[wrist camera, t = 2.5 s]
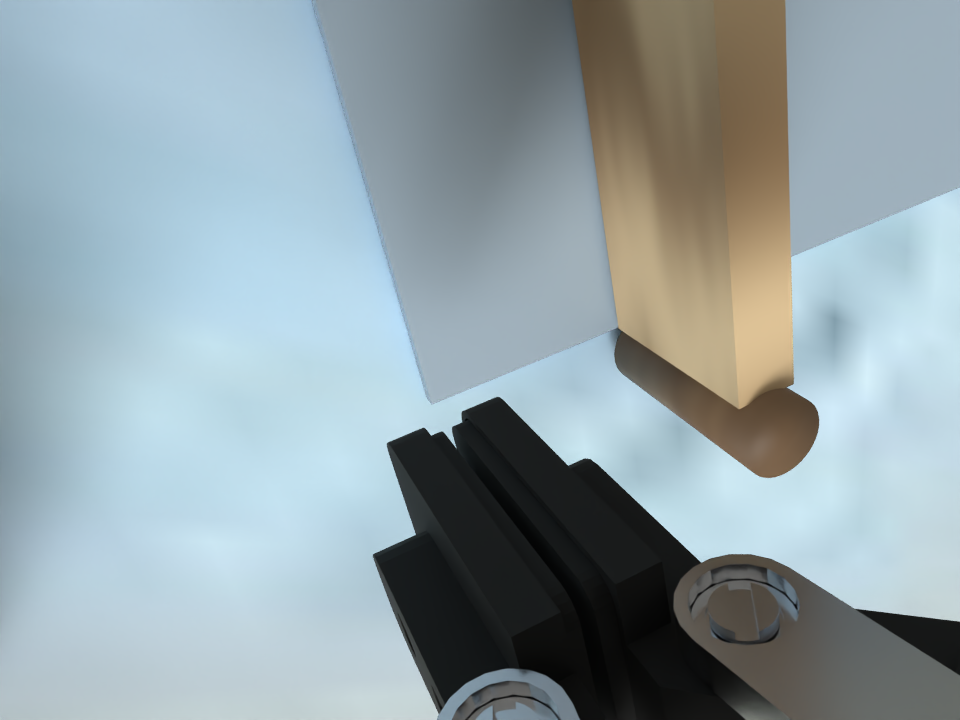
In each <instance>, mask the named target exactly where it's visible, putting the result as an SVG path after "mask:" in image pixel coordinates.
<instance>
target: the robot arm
mask: <svg viewBox="0 0 960 720" xmlns="http://www.w3.org/2000/svg"><path fill="white" fill-rule="evenodd" d="M462 422H463V423H460V424H458V425H456V426H453V427H452V432H453V437H454V440H455V444H456V447H457V449H456V448H455V446H454V445H453V444H452V442H451V441H450V440H449V439H448V437H447V436H446V435H445V434H444V433H443V432H439V433H437V434H434V435H432V436H431V435H430V434H429V432H428V431H427V430H426V429H425V428H422V429H419V430H417V431H414V432H412V433H410V434H407V435H405V436H402V437H400V438H398V439H395V440H393V441H390V442H388V443H387V448H388V452H389V455H390V458H391V461H392V464H393V467H394V470H395V473H396V476H397V479H398V482H399V485H400V488H401V491H402V494H403V497H404V500H405V503H406V506H407V509H408V512H409V515H410V518H411V521H412V524H413V527H414V530H415V533H416V535H415V536H413V537H410V538H408V539H406V540H404V541H402V542H399V543H397V544H395V545H393V546H391V547H388V548H386V549H384V550H382V551H380V552H377V553H375V554H373V558H374V561H375V564H376V567H377V569H378V572H379V575H380V578H381V580H382V583H383V586H384V588H385V591H386V594H387V596H388V599H389V601H390V604H391V607H392V609H393V612H394V614H395V617H396V619H397V621H398V624H399V626H400V629H401V631H402V633H403V636H404V638H405V640H406V643H407V645H408V647H409V650H410V652H411V654H412V656H413V659H414V661H415V663H416V665H417V667H418V669H419V672H420V674H421V676H422V678H423V680H424V682H425V685H426V687H427V689H428V691H429V693H430V696H431V698H432V700H433V702H434V704H435V706H436V709H437V711H438V713H439V715H438V718H437V720H960V622H957V621H949V620H941V619H933V618H925V617H917V616H908V615H900V614H892V613H884V612H876V611H868V610H860V609H854V608H852V607H851V606H849V605H848V604H846V603H844V602H843V601H841V600H840V599H838V598H836V597H835V596H833V595H832V594H830V593H829V592H827V591H825V590H824V589H822V588H821V587H819V586H817V585H816V584H814V583H813V582H811V581H810V580H808V579H806V578H805V577H803V576H802V575H800V574H799V573H797V572H795V571H794V570H792V569H791V568H789V567H787V566H785V565H783V564H780V563H778V562H776V561H774V560H772V559H769V558H764V557H760V556H755V555H751V554H729V555H724V556H720V557H715V558H711V559H708V560H706V561H704V562H702V563H701V562H700V561H699V560H698V559H697V558H696V557H695V556H693V555H692V554H691V553H690V552H689V551H688V550H687V549H686V548H685V547H684V546H683V545H682V544H681V543H680V542H679V541H678V540H677V539H676V538H674V537H673V536H672V535H671V534H670V533H669V532H668V531H667V530H666V529H665V528H664V527H663V526H662V525H661V524H660V523H659V522H658V521H657V520H655V519H654V518H653V517H652V516H651V515H650V514H649V513H648V512H647V511H646V510H645V509H644V508H643V507H642V506H641V505H640V504H639V503H638V502H637V501H635V500H634V499H633V498H632V497H631V496H630V495H629V494H628V493H627V492H626V491H625V490H624V489H623V488H622V487H621V486H620V485H619V484H618V483H616V482H615V481H614V480H613V479H612V478H611V477H610V476H609V475H608V474H607V473H606V472H605V471H604V470H603V469H602V468H601V467H600V466H599V465H597V464H596V463H595V462H593V461H592V460H591V459H583V460H580V461H578V462H576V463H574V464H572V465H569V466H568V465H567V464H566V463H565V462H564V461H563V460H562V459H561V458H560V457H559V456H558V455H557V454H556V453H555V452H554V451H553V450H552V449H551V448H550V447H549V446H548V445H547V444H546V443H545V442H544V441H543V440H542V439H541V438H540V437H539V436H538V435H537V434H536V433H535V432H534V431H533V430H532V429H531V428H530V427H529V426H528V425H527V424H526V423H525V422H524V421H523V420H522V419H521V418H520V417H519V416H518V415H517V414H516V413H515V412H514V411H513V410H512V409H511V408H510V407H509V406H508V404H507V403H506V402H505V401H504V400H503V399H501V398H500V397H496V398H493V399H491V400H488V401H486V402H484V403H481V404H479V405H477V406H474V407H472V408H469V409H467V410H465V411H462Z"/></svg>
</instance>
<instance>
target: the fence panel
mask: <svg viewBox="0 0 960 720" xmlns="http://www.w3.org/2000/svg"><path fill="white" fill-rule="evenodd" d="M572 5H573V12H574V19H575V26H576V33H577V40H578V47H579V54H580V61H581V68H582V75H583V82H584V89H585V97H586V104H587V111H588V118H589V125H590V132H591V139H592V146H593V153H594V160H595V167H596V174H597V181H598V188H599V195H600V202H601V209H602V216H603V223H604V230H605V237H606V244H607V251H608V258H609V265H610V272H611V279H612V286H613V293H614V300H615V307H616V314H617V321H618V328H619V329H620V330H621V331H622V332H621V334H620V336H619V338H618V340H617V343H616V346H615V354H614V356H615V363H616V365H617V368H618V369H619V371H620V372H621V373H622V374H623V375H624V376H626V377H627V378H628V379H630V380H631V381H632V382H634V383H635V384H636V385H638V386H639V387H640V388H642V389H643V390H644V391H646V392H647V393H648V394H650V395H651V396H652V397H654V398H655V399H656V400H658V401H659V402H660V403H662V404H663V405H664V406H666V407H667V408H668V409H670V410H671V411H672V412H674V413H675V414H676V415H678V416H679V417H680V418H682V419H683V420H684V421H686V422H687V423H688V424H690V425H691V426H692V427H694V428H695V429H696V430H698V431H699V432H700V433H702V434H703V435H704V436H706V437H707V438H708V439H710V440H711V441H712V442H713V443H715V444H716V445H717V446H719V447H720V448H721V449H723V450H724V451H725V452H727V453H728V454H729V455H731V456H732V457H733V458H735V459H736V460H737V461H739V462H740V463H741V464H743V465H744V466H745V467H747V468H748V469H749V470H751V471H752V472H753V473H755V474H756V475H758V476H760V477H765V478H772V477H777V476H780V475H782V474H785V473H786V472H788V471H790V470H791V469H793V468H794V467H795V466H796V465H798V464H799V463H800V462H801V461H802V460H803V458H804V457H805V456H806V455H807V453H808V452H809V451H810V449H811V447H812V445H813V443H814V441H815V439H816V436H817V433H818V428H819V416H818V412H817V409H816V408H815V406H814V405H813V404H812V403H811V402H810V401H808V400H807V399H805V398H803V397H802V396H800V395H798V394H797V393H795V392H793V391H792V390H790V389H788V388H786V387H788V386H791V385H793V384H794V374H793V328H792V282H791V237H790V191H789V145H788V99H787V53H786V8H785V0H572Z"/></svg>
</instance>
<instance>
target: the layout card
mask: <svg viewBox="0 0 960 720" xmlns="http://www.w3.org/2000/svg"><path fill="white" fill-rule="evenodd" d="M312 4H313V7H314V10H315V14H316V17H317V21H318V24H319V28H320V31H321V35H322V38H323V42H324V45H325V48H326V52H327V55H328V59H329V62H330V66H331V69H332V73H333V76H334V79H335V83H336V86H337V90H338V93H339V97H340V100H341V104H342V107H343V111H344V114H345V117H346V121H347V124H348V128H349V131H350V135H351V138H352V142H353V145H354V148H355V152H356V155H357V159H358V162H359V166H360V169H361V173H362V176H363V180H364V183H365V186H366V190H367V193H368V197H369V200H370V204H371V207H372V211H373V214H374V217H375V221H376V224H377V228H378V231H379V235H380V238H381V242H382V245H383V249H384V252H385V255H386V259H387V262H388V266H389V269H390V273H391V276H392V280H393V283H394V286H395V290H396V293H397V297H398V300H399V304H400V307H401V311H402V314H403V317H404V321H405V324H406V328H407V331H408V335H409V338H410V342H411V345H412V349H413V352H414V355H415V359H416V362H417V366H418V369H419V373H420V376H421V380H422V383H423V386H424V390H425V393H426V397H427V399H428V400H429V402H430V403H431V404H434V403H437V402H439V401H441V400H444V399H446V398H449V397H451V396H454V395H456V394H458V393H461V392H463V391H466V390H468V389H471V388H473V387H475V386H478V385H480V384H483V383H485V382H488V381H490V380H492V379H495V378H497V377H500V376H502V375H505V374H507V373H509V372H512V371H514V370H517V369H519V368H522V367H524V366H526V365H529V364H531V363H534V362H536V361H539V360H541V359H544V358H546V357H548V356H551V355H553V354H556V353H558V352H561V351H563V350H565V349H568V348H570V347H573V346H575V345H578V344H580V343H582V342H585V341H587V340H590V339H592V338H595V337H597V336H599V335H602V334H604V333H607V332H609V331H612V330H614V329H616V328H618V321H617V314H616V307H615V300H614V293H613V286H612V279H611V272H610V265H609V258H608V251H607V244H606V237H605V230H604V223H603V216H602V209H601V202H600V195H599V188H598V181H597V174H596V167H595V160H594V153H593V146H592V139H591V132H590V125H589V118H588V111H587V104H586V97H585V89H584V82H583V75H582V68H581V61H580V54H579V47H578V40H577V33H576V26H575V19H574V12H573V5H572V0H312ZM785 8H786V53H787V99H788V145H789V191H790V237H791V257H792V256H794V255H796V254H799V253H801V252H804V251H806V250H809V249H811V248H813V247H816V246H818V245H821V244H823V243H826V242H828V241H830V240H833V239H835V238H838V237H840V236H843V235H845V234H848V233H850V232H852V231H855V230H857V229H860V228H862V227H865V226H867V225H869V224H872V223H874V222H877V221H879V220H882V219H884V218H886V217H889V216H891V215H894V214H896V213H899V212H901V211H903V210H906V209H908V208H911V207H913V206H916V205H918V204H920V203H923V202H925V201H928V200H930V199H933V198H935V197H937V196H940V195H942V194H945V193H947V192H950V191H952V190H955V189H957V188H959V187H960V0H785Z"/></svg>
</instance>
